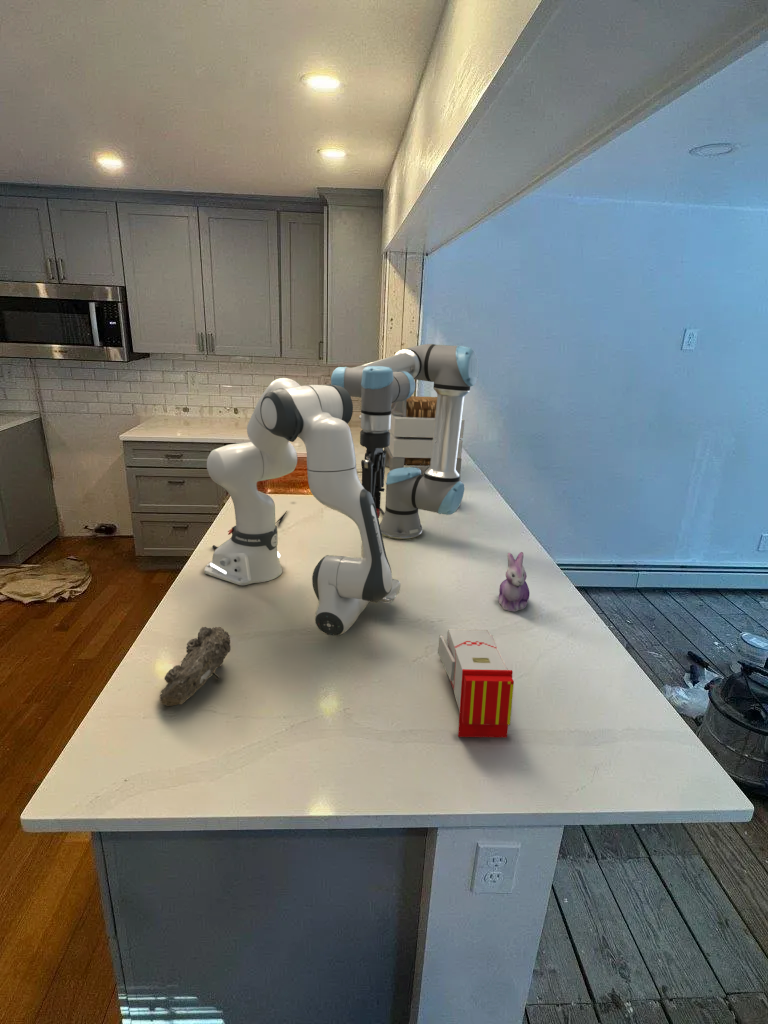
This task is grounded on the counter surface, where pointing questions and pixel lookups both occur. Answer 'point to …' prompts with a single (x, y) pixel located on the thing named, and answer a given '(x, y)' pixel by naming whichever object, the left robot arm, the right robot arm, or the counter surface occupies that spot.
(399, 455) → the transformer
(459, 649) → the toy
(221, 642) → the fossil
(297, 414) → the left robot arm
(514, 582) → the figurine
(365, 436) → the right robot arm
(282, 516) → the feather
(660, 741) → the counter surface
